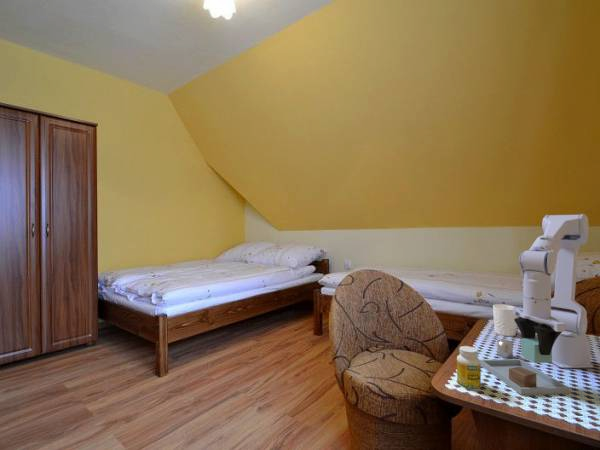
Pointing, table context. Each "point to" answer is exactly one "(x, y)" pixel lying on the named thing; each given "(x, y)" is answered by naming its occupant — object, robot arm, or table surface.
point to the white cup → (504, 320)
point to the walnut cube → (522, 377)
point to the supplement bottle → (468, 368)
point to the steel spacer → (505, 349)
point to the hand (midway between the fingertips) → (536, 350)
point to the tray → (543, 381)
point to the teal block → (533, 351)
